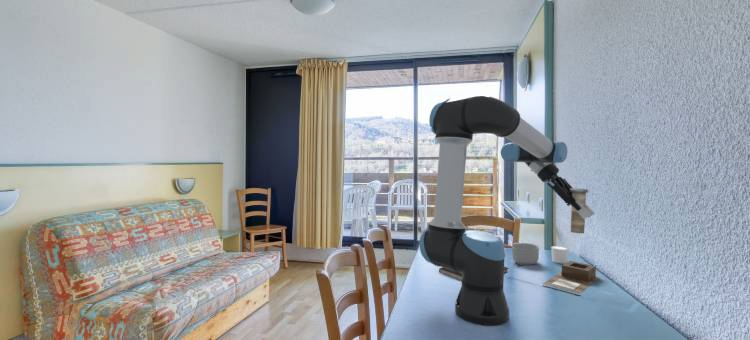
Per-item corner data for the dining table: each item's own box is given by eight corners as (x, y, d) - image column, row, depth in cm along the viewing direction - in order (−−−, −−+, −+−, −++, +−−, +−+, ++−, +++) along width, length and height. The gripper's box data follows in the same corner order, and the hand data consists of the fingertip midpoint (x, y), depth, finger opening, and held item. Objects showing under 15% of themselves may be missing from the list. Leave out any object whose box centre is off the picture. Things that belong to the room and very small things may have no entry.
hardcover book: (508, 273, 142) (508, 267, 142) (471, 285, 128) (471, 279, 128) (475, 263, 155) (475, 258, 154) (438, 273, 141) (439, 267, 141)
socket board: (579, 296, 118) (580, 281, 117) (542, 286, 126) (542, 272, 126) (600, 280, 133) (600, 267, 133) (565, 272, 142) (566, 260, 142)
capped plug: (583, 234, 128) (585, 190, 127) (566, 231, 132) (567, 188, 131) (588, 232, 132) (590, 189, 131) (571, 229, 136) (573, 188, 135)
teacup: (543, 268, 147) (543, 249, 147) (516, 267, 147) (517, 248, 147) (529, 258, 161) (529, 241, 161) (505, 258, 161) (505, 240, 161)
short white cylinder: (548, 261, 158) (548, 245, 157) (564, 261, 157) (565, 246, 156) (553, 265, 151) (554, 249, 151) (571, 266, 150) (571, 250, 150)
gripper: (545, 175, 148) (588, 219, 137) (527, 175, 136) (573, 224, 125) (559, 162, 144) (605, 207, 133) (542, 162, 132) (590, 211, 121)
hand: (589, 216), depth 129 cm, fingers closed on capped plug, 4 cm apart
